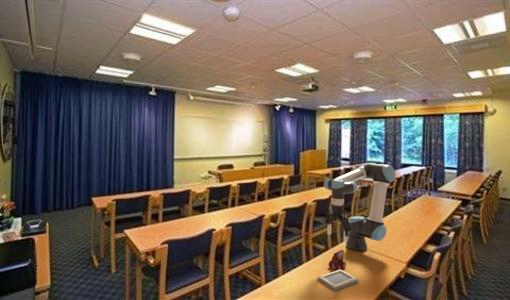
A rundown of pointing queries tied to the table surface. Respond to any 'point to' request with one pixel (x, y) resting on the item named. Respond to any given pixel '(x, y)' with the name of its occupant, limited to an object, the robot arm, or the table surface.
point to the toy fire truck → (337, 260)
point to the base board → (338, 280)
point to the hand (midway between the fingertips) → (337, 237)
